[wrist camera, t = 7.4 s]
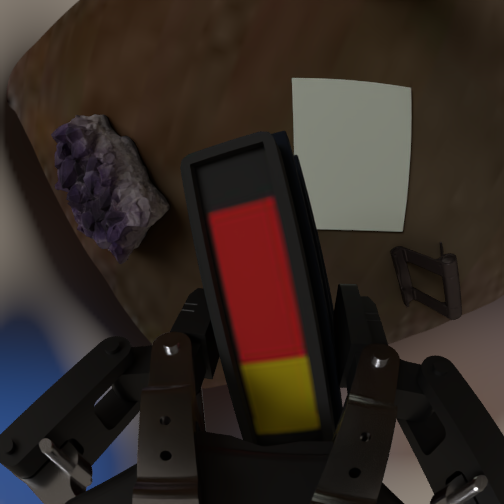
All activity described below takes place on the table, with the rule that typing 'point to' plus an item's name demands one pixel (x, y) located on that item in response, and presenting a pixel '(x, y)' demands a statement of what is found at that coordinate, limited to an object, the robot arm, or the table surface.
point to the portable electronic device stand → (440, 266)
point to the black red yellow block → (265, 287)
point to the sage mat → (353, 151)
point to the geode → (106, 184)
